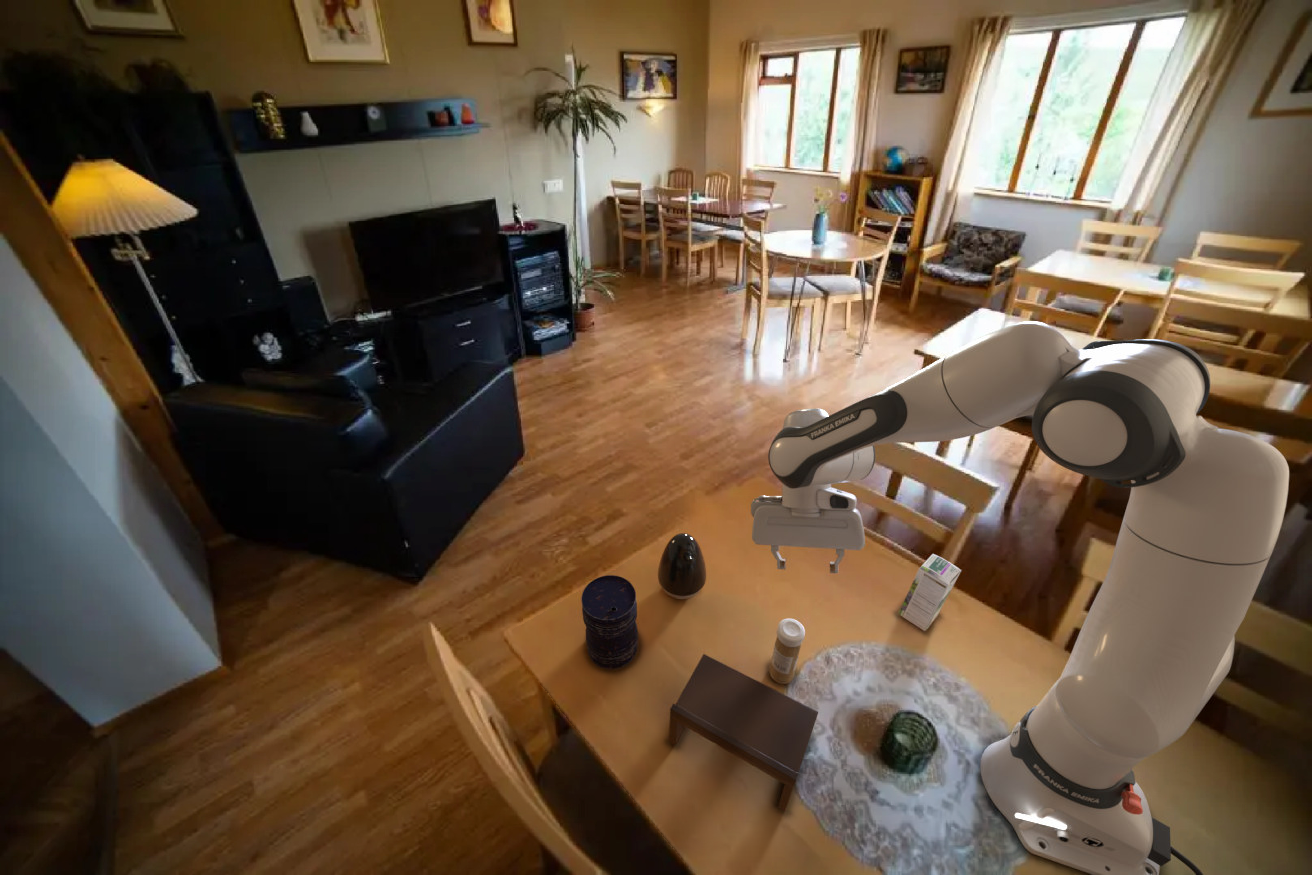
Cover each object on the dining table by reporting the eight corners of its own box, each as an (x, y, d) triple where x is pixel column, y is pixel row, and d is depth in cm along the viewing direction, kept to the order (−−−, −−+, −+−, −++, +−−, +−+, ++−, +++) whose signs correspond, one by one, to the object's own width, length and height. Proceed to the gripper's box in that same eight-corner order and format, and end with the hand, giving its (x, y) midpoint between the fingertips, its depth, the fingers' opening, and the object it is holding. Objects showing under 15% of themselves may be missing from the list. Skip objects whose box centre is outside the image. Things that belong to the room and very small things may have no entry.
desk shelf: (809, 739, 88) (820, 706, 82) (785, 811, 80) (796, 780, 74) (701, 682, 97) (704, 647, 90) (669, 741, 88) (670, 708, 82)
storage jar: (581, 633, 105) (574, 583, 96) (628, 617, 108) (625, 568, 99) (595, 677, 97) (589, 628, 89) (645, 659, 100) (644, 609, 92)
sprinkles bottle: (798, 676, 97) (811, 632, 90) (780, 689, 95) (791, 645, 88) (781, 657, 101) (791, 612, 93) (763, 669, 99) (772, 625, 91)
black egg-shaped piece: (664, 612, 109) (665, 562, 100) (653, 573, 117) (652, 524, 108) (712, 602, 111) (716, 552, 102) (697, 565, 119) (700, 515, 110)
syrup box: (910, 598, 112) (931, 551, 103) (938, 616, 108) (962, 568, 100) (897, 614, 108) (917, 566, 100) (926, 633, 105) (949, 585, 96)
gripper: (747, 497, 100) (748, 570, 100) (864, 500, 92) (865, 579, 92) (753, 493, 105) (754, 562, 106) (864, 495, 98) (865, 570, 98)
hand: (807, 570), depth 99 cm, fingers open, 8 cm apart
